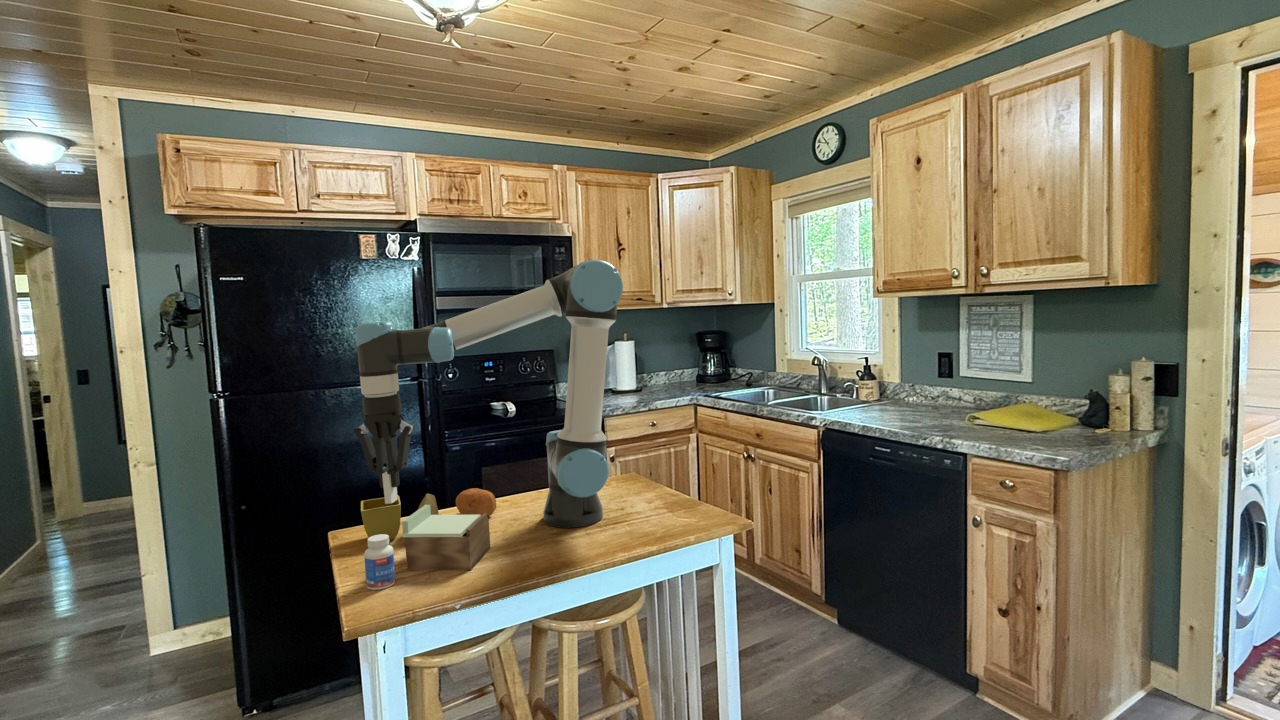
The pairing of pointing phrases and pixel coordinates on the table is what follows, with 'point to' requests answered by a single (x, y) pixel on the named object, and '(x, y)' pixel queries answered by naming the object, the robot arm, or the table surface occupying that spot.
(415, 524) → the lid
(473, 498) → the potato
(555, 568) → the table surface
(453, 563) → the box
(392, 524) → the flower pot
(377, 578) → the pill bottle
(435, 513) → the rock
